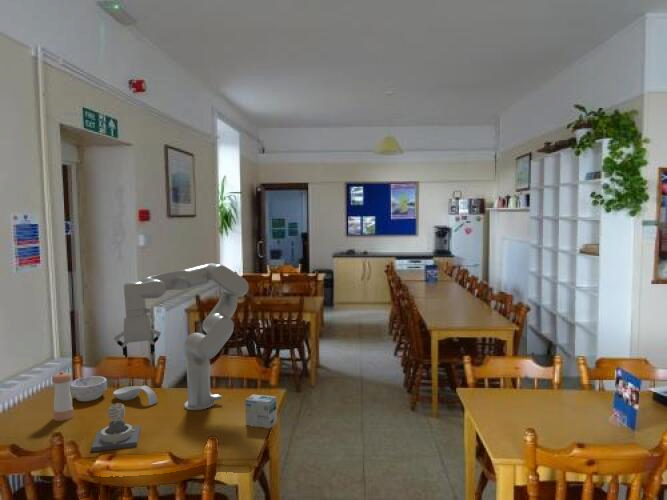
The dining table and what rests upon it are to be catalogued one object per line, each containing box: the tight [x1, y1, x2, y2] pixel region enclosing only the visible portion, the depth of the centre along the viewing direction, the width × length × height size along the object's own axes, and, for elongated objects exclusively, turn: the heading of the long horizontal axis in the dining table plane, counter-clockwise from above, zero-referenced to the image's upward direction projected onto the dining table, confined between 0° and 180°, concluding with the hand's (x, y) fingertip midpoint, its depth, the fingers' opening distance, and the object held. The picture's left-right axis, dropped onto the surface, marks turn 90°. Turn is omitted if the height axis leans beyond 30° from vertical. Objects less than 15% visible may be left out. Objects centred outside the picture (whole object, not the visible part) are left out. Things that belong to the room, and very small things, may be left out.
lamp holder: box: [90, 423, 141, 453], centre depth 191 cm, size 15×15×4 cm
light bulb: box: [107, 402, 126, 434], centre depth 191 cm, size 6×6×12 cm
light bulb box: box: [244, 393, 278, 430], centre depth 204 cm, size 11×7×11 cm, turn 71°
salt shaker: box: [51, 370, 74, 422], centre depth 213 cm, size 7×7×19 cm
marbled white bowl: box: [70, 375, 108, 402], centre depth 236 cm, size 15×15×8 cm
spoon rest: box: [112, 385, 159, 407], centre depth 233 cm, size 24×12×7 cm, turn 59°
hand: (139, 355), depth 207 cm, fingers open, 9 cm apart
